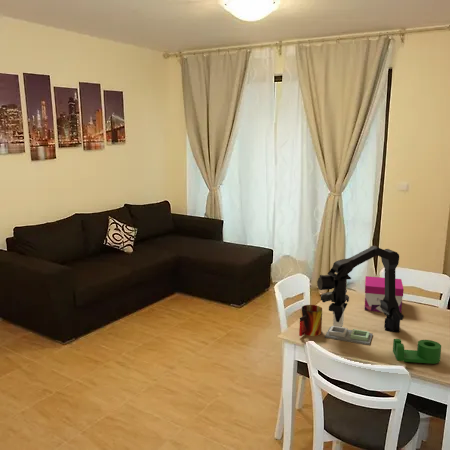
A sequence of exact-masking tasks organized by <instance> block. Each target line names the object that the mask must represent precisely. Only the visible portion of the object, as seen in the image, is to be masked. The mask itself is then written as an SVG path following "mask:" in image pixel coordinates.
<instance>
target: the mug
mask: <svg viewBox="0 0 450 450" xmlns="http://www.w3.org/2000/svg"><path fill="white" fill-rule="evenodd" d="M322 323H323V308H322V307H321V306H320V305H316V304H305V305H302V306H301V316H300V317H299V330H298V331H299V335H298V337H299V336H300V337H302V336H304V335H306V336H311V337H315V336H317V337H318V336H320V335H321V334H322V327H323V324H322Z"/></svg>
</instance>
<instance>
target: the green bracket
mask: <svg viewBox="0 0 450 450" xmlns="http://www.w3.org/2000/svg"><path fill="white" fill-rule="evenodd" d="M392 341H393V342H392V343H393V344H392V353H393V355H394V357H395V360H396V361H398V362H404V363H405V362H406V363H419V364H433V365H434V364H439V363H440V362H441V355H442V344H441V343H439V342H438V341H435V340H432V339H431V340H430V339H420V340H418V341H417V349H416V350H415V349H405V345H404V343H402V339H401V338H393V340H392Z"/></svg>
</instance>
